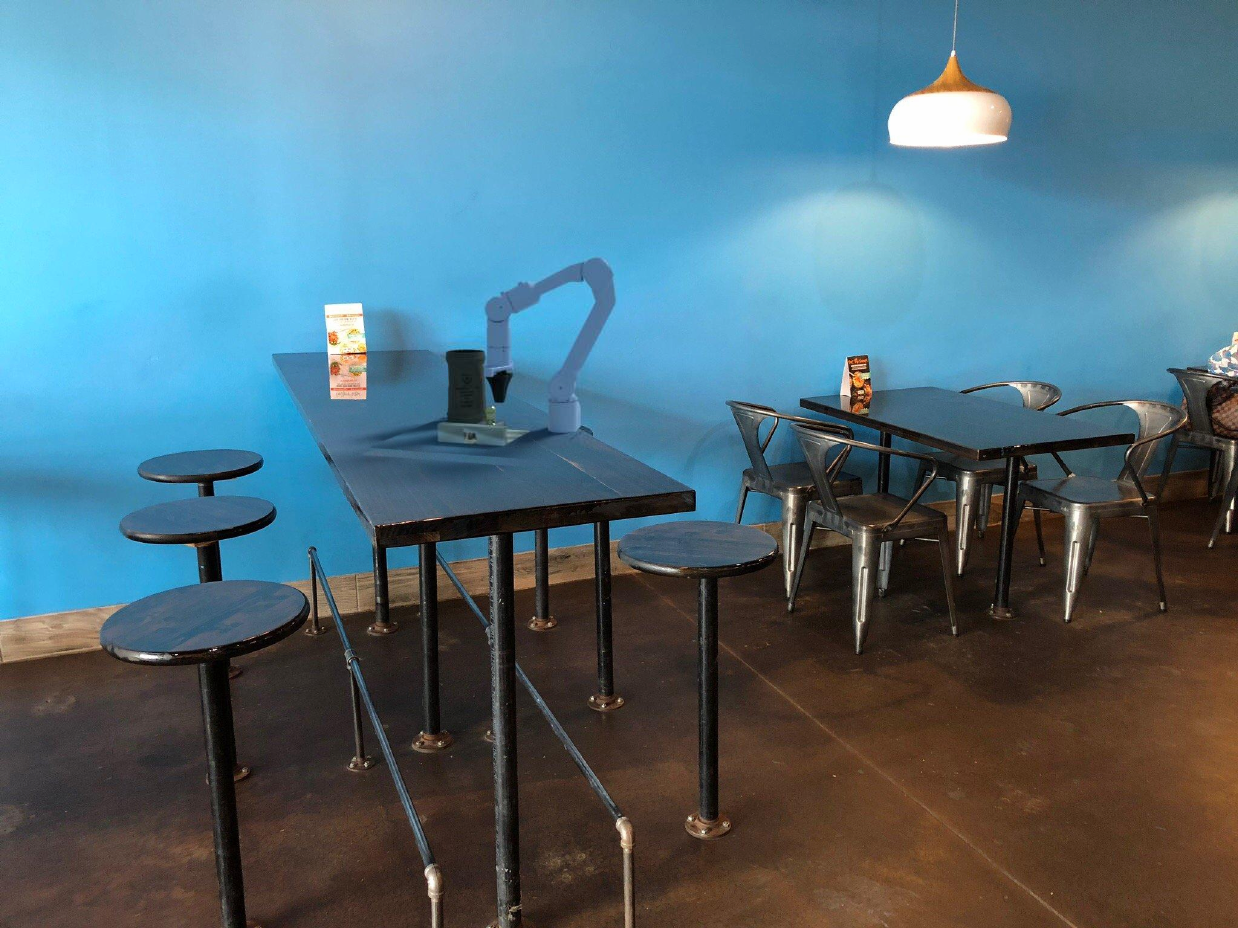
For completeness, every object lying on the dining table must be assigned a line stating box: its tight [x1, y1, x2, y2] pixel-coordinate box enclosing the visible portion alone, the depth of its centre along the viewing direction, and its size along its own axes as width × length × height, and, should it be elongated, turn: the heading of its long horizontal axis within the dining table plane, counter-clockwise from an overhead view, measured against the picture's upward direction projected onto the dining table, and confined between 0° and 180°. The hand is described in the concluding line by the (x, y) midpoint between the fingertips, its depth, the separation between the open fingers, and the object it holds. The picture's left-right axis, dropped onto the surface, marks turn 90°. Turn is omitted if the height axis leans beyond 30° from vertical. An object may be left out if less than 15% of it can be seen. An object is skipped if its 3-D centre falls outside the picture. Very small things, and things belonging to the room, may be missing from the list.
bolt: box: [475, 405, 497, 438], centre depth 224 cm, size 8×2×6 cm, turn 165°
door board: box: [436, 421, 531, 447], centre depth 224 cm, size 18×16×6 cm
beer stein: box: [445, 348, 487, 424], centre depth 243 cm, size 15×11×20 cm
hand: (499, 402), depth 232 cm, fingers closed
